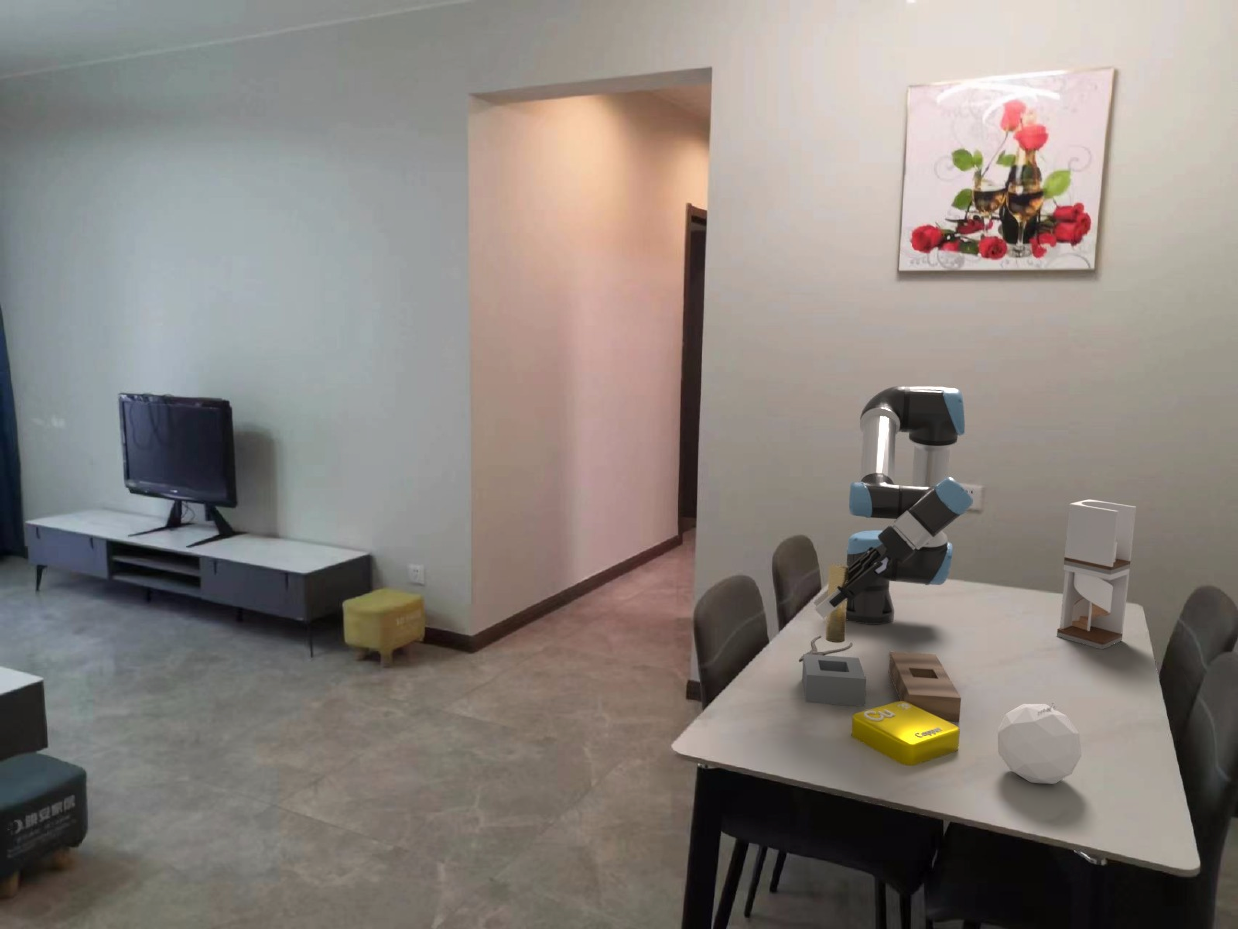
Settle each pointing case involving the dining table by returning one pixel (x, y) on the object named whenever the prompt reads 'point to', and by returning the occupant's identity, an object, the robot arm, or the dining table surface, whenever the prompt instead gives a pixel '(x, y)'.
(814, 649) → the pliers
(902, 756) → the element tile
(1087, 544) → the spiral staircase model
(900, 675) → the beam
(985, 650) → the dining table surface
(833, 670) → the seat block
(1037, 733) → the geodesic sphere
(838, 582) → the golden rounded rod
